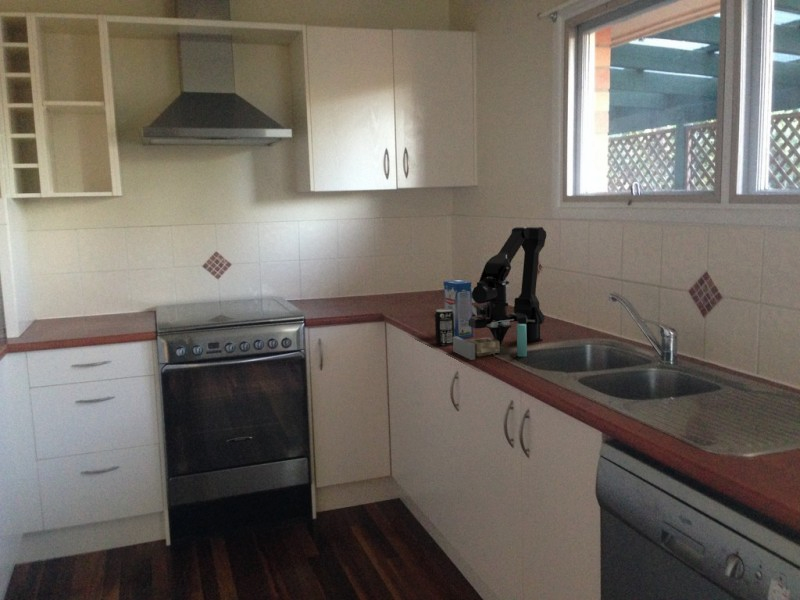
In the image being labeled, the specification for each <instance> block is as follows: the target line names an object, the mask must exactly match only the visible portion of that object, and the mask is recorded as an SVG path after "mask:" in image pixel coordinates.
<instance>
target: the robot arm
mask: <svg viewBox="0 0 800 600" xmlns="http://www.w3.org/2000/svg"><path fill="white" fill-rule="evenodd" d="M546 239H547V231H546V229H544V228H543V227H542V226H516V227H513V228H512V229H511V232H510V235H509V237H508V238H507V240H506V241H505V243H504V244H503V245H502V247H501V248H500V250H499V251H498V253H497V254H495V255H493V256H492V257H490V258H489V260H487V262H486V263H485V265H484V267H483V270H482V273H481V275H480V277H479V281H477V282H476V286H475V287H473V288H474V289H473V292H472V297H473V300H474V301H475V302H474V303H476V304H479V305H476V306H477V307H476V312H477V316H475V317H473V316H472V318H470V320H469V326H470V327H473V329H485V328H486V329H489V331H490V333H491V334H492V337H493V339H494V340H497V341H499V342H500V347H501V346H502V344H503V341H504V338H505V337H506V334H507V332H508V331H509V330H510V328H513V327H512V325H511V324H510V323H512V322H513V323H515V322H516V323H518V324H526V333H527V343H531V342H539V341H543V338H541V325H542V324H544V323H545V315H544V313H543V312H542V310H541V308H540V302H539V299H538V297H537V295H536V290H537V282H538V281H537V279H538V268H539V257H540V252H541V251H542V250H543V249H544V247H545V245H546ZM521 248H522V250H523V251H524V256H523V267H522V278H521V279H522V280H521V288H520V294H519V295H518V297H515V298H514V301H513V302H514V304H513V312H512V313H509V314H507V313H508V311H507V307H508V306H509V302H506V294H507V290H506V286H507V285H509V284H510V282H509V281H508V279H507V278H508V276H509V274H510V272H511V269H512V265H511V263H512V262H513V260H514V258H515V256H516V254H517V253H518V252H519V250H520V249H521ZM485 303H486V305H487V307H483V305H484V304H485ZM481 304H482V306H480V305H481Z"/></svg>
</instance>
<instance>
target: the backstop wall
mask: <svg viewBox="0 0 800 600" xmlns="http://www.w3.org/2000/svg"><path fill="white" fill-rule="evenodd" d="M467 340H468V339H465V338H460V337H457V336H456V337H453V344H452V347H453V350H452V351H453V353H456V354H458V355H460V356H462V357H464V358H466V359H467V360H470V361H473V360H476V356H475V344H474V343H471V342H469V341H467Z"/></svg>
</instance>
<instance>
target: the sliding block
mask: <svg viewBox="0 0 800 600" xmlns="http://www.w3.org/2000/svg"><path fill="white" fill-rule="evenodd" d="M466 340H467V341H469V342H471V343H474V344H475V357H484V356H492V355H491V354H493V355H495V354H494V353H500V354H501V351H500V350H501V349H500V347H501V346H500V342H499V341H497V340H494V338H492V337H481V338H480V337H478V338H470V339H466Z"/></svg>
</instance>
